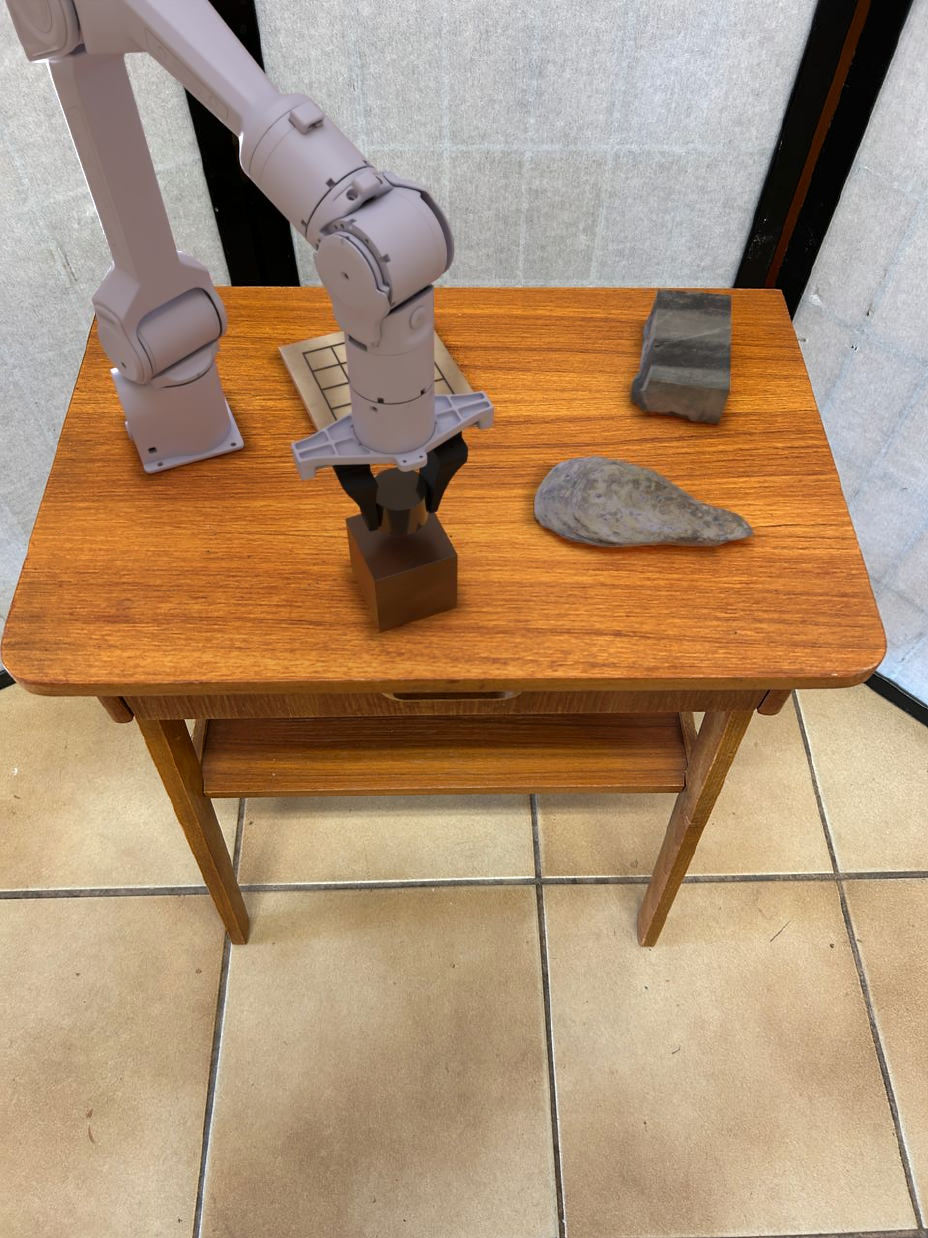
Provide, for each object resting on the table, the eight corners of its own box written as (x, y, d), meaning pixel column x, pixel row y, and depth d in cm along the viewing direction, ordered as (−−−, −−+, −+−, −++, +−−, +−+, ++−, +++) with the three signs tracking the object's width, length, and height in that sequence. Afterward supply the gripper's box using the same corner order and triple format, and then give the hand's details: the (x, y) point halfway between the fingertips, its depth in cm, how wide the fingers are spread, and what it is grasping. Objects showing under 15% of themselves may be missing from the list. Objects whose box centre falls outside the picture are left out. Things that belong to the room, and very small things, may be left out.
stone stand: (379, 633, 79) (374, 581, 73) (352, 571, 83) (345, 518, 77) (457, 607, 81) (458, 554, 75) (426, 548, 85) (425, 494, 79)
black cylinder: (383, 542, 73) (380, 516, 70) (363, 502, 75) (361, 476, 72) (436, 526, 74) (436, 499, 71) (415, 487, 76) (414, 460, 73)
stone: (740, 587, 85) (741, 501, 91) (754, 564, 82) (755, 476, 87) (526, 545, 85) (540, 462, 91) (533, 521, 82) (546, 436, 88)
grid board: (328, 457, 91) (327, 447, 90) (280, 355, 99) (278, 345, 98) (481, 414, 95) (482, 404, 94) (422, 320, 103) (422, 309, 102)
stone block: (628, 416, 95) (636, 374, 91) (637, 326, 103) (645, 284, 99) (719, 427, 94) (731, 385, 90) (720, 335, 102) (732, 293, 98)
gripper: (304, 443, 59) (326, 578, 70) (516, 385, 63) (505, 522, 74) (272, 373, 63) (297, 511, 74) (473, 322, 66) (469, 461, 77)
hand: (399, 512), depth 74 cm, fingers closed on black cylinder, 4 cm apart
